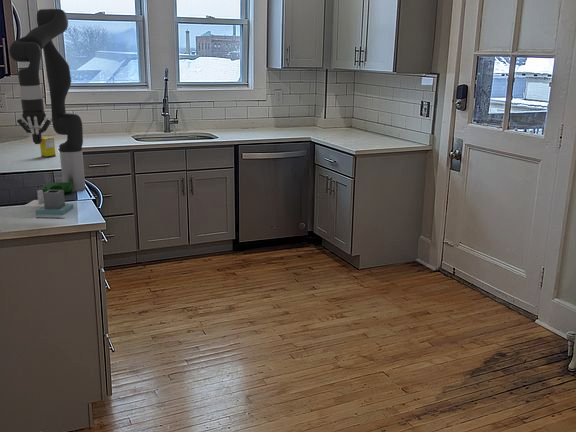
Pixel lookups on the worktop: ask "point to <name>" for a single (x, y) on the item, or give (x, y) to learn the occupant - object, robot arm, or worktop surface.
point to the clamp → (58, 187)
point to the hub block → (54, 211)
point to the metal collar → (54, 199)
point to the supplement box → (47, 147)
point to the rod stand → (37, 202)
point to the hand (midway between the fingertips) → (37, 143)
